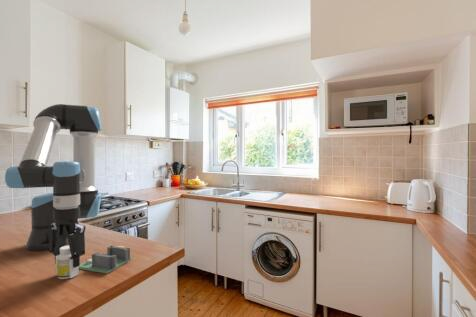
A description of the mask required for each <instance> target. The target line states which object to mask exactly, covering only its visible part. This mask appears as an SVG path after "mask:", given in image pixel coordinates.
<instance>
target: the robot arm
mask: <svg viewBox="0 0 476 317" xmlns="http://www.w3.org/2000/svg"><path fill="white" fill-rule="evenodd" d="M32 122H33V124H32V126H33V127H34V128H33V129H32V133H31V135H30V138H29V139H28V142H27V145H26V146H25V150H24V152H23V155H22V157H21V160H20V162H19V165H15V166H9V167H8V168H7V169H6V170H5V174H4V180H5V181H4V182H5V184H6V187H8V188H9V189H32V188H52V192H50V193H44V194H39V195H37V196H34V197H33V198H32V199H31V206H30V209H31V212H30V214H31V215H30V216H31V231H30V234H29V236H28V239H27V242H26V245H25V246H26V250H28V251H31V252H32V251H36V252H37V251H45V250H49V253H50V254H53V256H54V264H55V276H57V277H58V275H57V257H58V255H59V254H61V253H60V248H61V247H63V246H66V244H68V245H69V248H70V252H71V258H69V270H70V278H69V279H73V278H74V277H76V276H79V273H80V269H79V265H80V264H81V263H80V261H81V260H80V258H81V256H84V255H85V254H86V241H85V240H86V239H85V237H86V236H85V231H86V228H87V227H86V225H80V223H79V221H78V220H80V219H81V220H82V219H86V220H87V219H91V218H96V217H97V216H98V215H99V212H100V206H101V201H102V200H101V199H102V193H100V192H99V189H98V188H97V187H95V138H96V137H97V136H99V132H101V131H102V122H101V116H100V112H99V109H98V108H97V107H95V106H88V105H79V104H78V105H76V104H75V105H73V104H65V103H64V104H62V103H60V104H53V105H50V106H48V107H46V108H44V109H42V110H41V111H40V112H38V114H37V115H36V116H35V117H34V120H33V121H32ZM61 130H69V134H70V135H71V136H72V137H73V140H72V141H73V144H72V146H73V151H72V152H73V158H72V160H73V161H55V162H54V163H53V164H52V166H50V165H49V166H47V164H48V160H49V158H50V155H51V152H52V148H53V145H54V141H55V138H56V135H57V133H59V132H60V131H61ZM75 253H76V254H75Z"/></svg>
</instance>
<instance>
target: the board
mask: <svg viewBox="0 0 476 317" xmlns="http://www.w3.org/2000/svg"><path fill="white" fill-rule="evenodd" d="M101 254H102V255H107V252H103V253H101ZM132 259H133V257H132V256H130V259H129V260H127V261H124V260H122V259H116V267H115V268H114V269H106V268H100V267H94V266H92V258H88V259H86V260H85V261H84V262H82V263H80V265H79V270H86V271H91V272H96V273H103V274H106V275H107V274H109V273H111V272H113V271H115V270H116V269H118V268H120V267H122V266H123V265H125V264H126V263H128V262H130V261H131V260H132Z"/></svg>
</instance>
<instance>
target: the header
mask: <svg viewBox="0 0 476 317" xmlns="http://www.w3.org/2000/svg"><path fill="white" fill-rule="evenodd" d="M106 249H107V251H106V254H107V255H102V253H100V252H95V253H93V254H91V259H92V266H94V267H100V268H106V269H114V268H115V267H116V259H122V260H124V261H127V260H129V259H130V257H131V248H130V247H126V246H123V245H117V246H114V245H110V246H108V247H107V248H106Z"/></svg>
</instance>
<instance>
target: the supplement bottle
mask: <svg viewBox="0 0 476 317" xmlns="http://www.w3.org/2000/svg"><path fill="white" fill-rule="evenodd" d="M60 253H61V254H59V255H58V257H57V275H58V276H57V275H56V276H57V279H58V280H67V279H71V278H70V270H69V258H71V252H70V248H69V244H68V245H64V246H63V247H61V248H60ZM75 254H76V253H75Z"/></svg>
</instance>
